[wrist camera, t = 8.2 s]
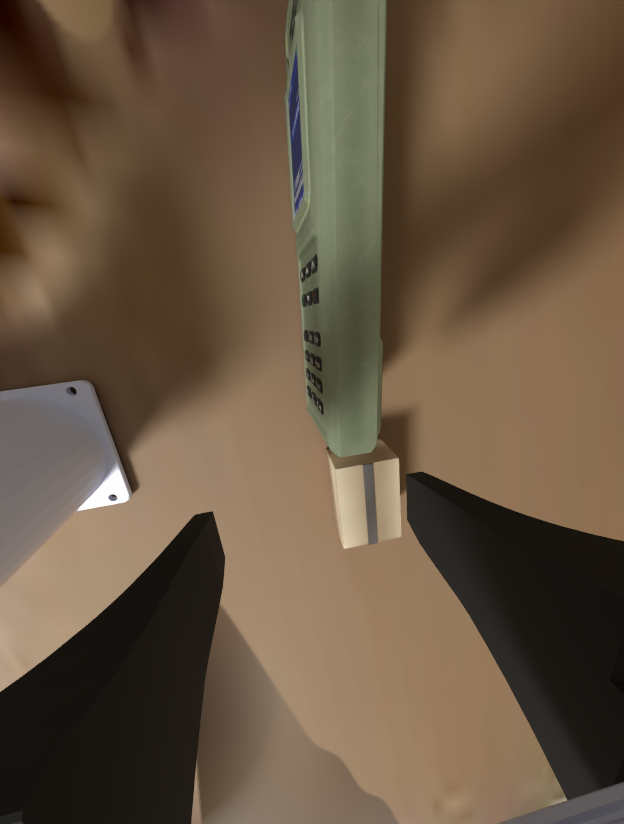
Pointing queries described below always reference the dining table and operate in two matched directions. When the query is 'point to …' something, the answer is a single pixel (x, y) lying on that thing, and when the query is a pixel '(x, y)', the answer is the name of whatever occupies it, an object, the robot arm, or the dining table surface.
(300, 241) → the handheld radio
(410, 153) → the dining table surface
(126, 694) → the robot arm
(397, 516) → the taped cardboard parcel
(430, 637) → the dining table surface
